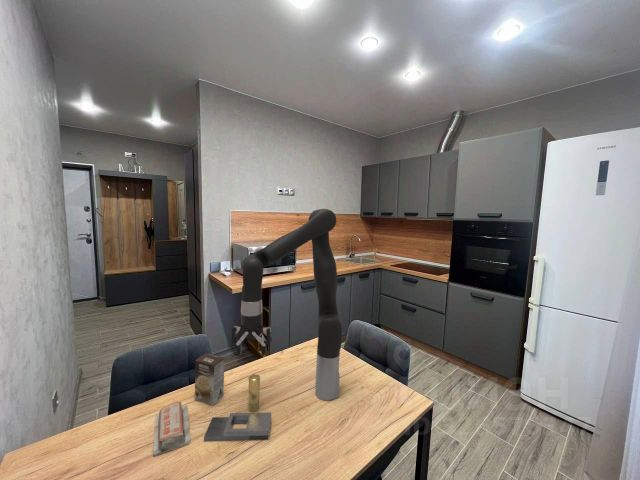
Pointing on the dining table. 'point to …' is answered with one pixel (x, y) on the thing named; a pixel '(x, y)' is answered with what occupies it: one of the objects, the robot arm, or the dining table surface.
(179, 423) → the packaged product
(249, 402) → the pin
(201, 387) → the coffee box
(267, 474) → the dining table surface
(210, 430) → the grey socket base
